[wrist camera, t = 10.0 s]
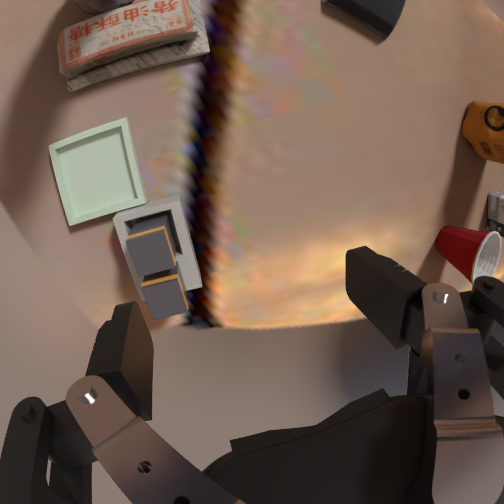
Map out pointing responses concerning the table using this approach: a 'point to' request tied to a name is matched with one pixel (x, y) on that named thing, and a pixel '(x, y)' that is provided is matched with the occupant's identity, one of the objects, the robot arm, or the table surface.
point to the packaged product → (130, 40)
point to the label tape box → (496, 212)
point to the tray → (98, 172)
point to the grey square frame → (168, 281)
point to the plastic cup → (470, 250)
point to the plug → (152, 244)
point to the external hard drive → (371, 13)
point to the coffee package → (485, 129)
